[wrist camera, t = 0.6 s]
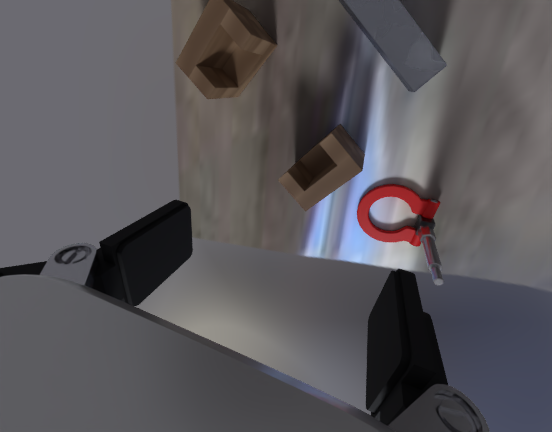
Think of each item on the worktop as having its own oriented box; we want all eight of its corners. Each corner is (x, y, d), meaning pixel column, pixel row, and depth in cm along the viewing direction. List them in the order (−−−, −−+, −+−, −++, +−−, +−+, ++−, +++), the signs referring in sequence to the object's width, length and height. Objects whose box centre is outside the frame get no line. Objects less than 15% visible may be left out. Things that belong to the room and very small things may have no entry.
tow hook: (351, 228, 38) (417, 247, 35) (336, 283, 27) (429, 316, 24) (367, 176, 33) (443, 193, 31) (356, 216, 23) (471, 247, 20)
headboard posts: (213, 67, 33) (175, 63, 27) (249, 10, 29) (214, -11, 23) (317, 189, 36) (305, 211, 30) (364, 154, 32) (362, 170, 26)
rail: (311, -35, 26) (299, -59, 22) (334, -68, 24) (325, -100, 20) (408, 91, 28) (414, 92, 23) (435, 68, 26) (447, 65, 22)
